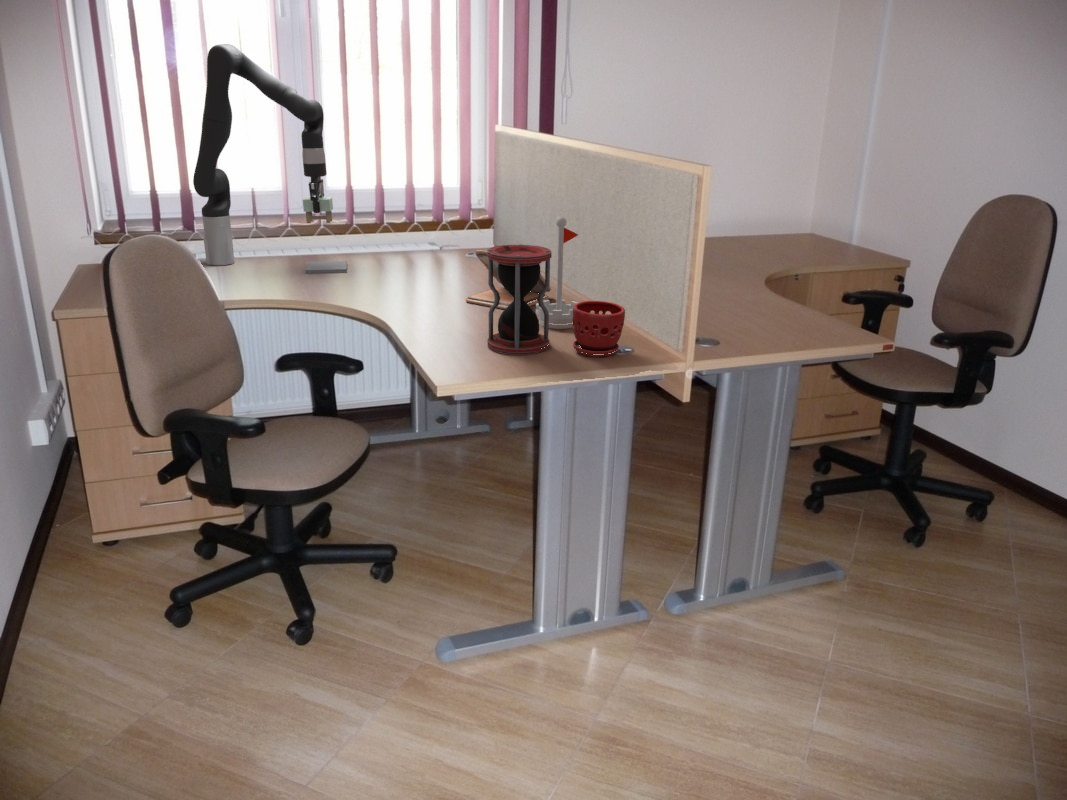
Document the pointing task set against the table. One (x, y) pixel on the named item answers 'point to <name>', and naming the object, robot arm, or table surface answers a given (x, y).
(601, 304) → the plant pot
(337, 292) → the table surface
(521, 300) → the hourglass
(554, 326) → the flag stand
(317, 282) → the table surface
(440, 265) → the table surface
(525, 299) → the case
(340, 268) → the mat
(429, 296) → the table surface
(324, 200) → the mint green toy brick
